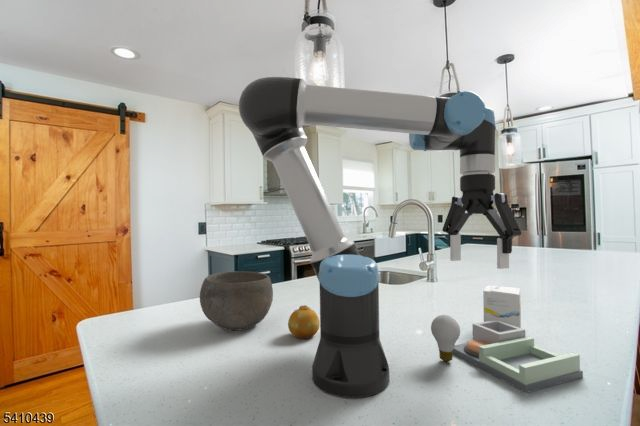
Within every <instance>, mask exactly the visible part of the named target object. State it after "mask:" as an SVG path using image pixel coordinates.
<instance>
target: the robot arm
mask: <svg viewBox="0 0 640 426" xmlns="http://www.w3.org/2000/svg"><path fill="white" fill-rule="evenodd" d="M238 111H239V116H240V119H241V120H242V123H243V124H244V126H246V127H247V129H249V131H250V132H251V133H252V135H253V138H254V139H255V142H256V144H257V147H258V149H259V150H260V153H261V156H262V158H263V159H264V160H266V161H269V162H271V163H272V165H273V166H274V169H275V171H276V173H277V175H278V178H279V180H280V182H281V184H282V187H283V188H284V191H285V192H286V195H287V198H288V199H289V202H290V204H291V206H292V208H293V211H294V213H295V215H296V218H297V221H298V222H299V224H300V226H301V229H302V231H303V233H304V236H305V238H306V240H307V242H308V245H309V247H310V249H311V252H312V255H311V256H310V257H311V258H310V260H309V261H310V262H309V263H310V264H311V266H312V269H313V271H314V273H315V275H316V278H317V281H318V283H319V329H320V332H319V333H320V338H319V342H318V345H317V348H316V353H315V355H314V358H313V361H312V365H311V371H312V372H311V374H312V375H311V377H312V378H311V379H312V382H313V384H314V385H315V387H317V388H318V389H319V390H320V391H323V392H325V393H327V394H330V395H333V396H336V397H342V398H364V397H371V396H373V395H376V394H378V393H379V394H380V392H382V391H384V390H385V389H386V388H387V387H388V385H389V384H390V365H389V363H388V360H387V357H386V354H385V352H384V348H383V346H382V342H381V338H380V337H381V336H380V302H379V301H380V298H379V297H380V293H379V283H380V273H379V268H378V264H377V262H376V260H374V259H372V258H370V257H368V256H363V255H361V254H360V251H359V250H358V247H357V245H356V243H355V241H354V240H351V239H348V238H347V237H346V236H345V234H344V232H343V229H342V227H341V225H340V224H339V221H338V219H337V217H336V214H335V212H334V209H333V208H332V205H331V203H330V201H329V199H328V198H329V197H328V196H327V194H326V192H325V190H324V188H323V185H322V183H321V181H320V179H319V176H318V174H317V171H316V169H315V167H314V165H313V163H312V160H311V159H310V157H309V154H308V152H307V150H306V145H307V142H308V136H307V135H306V132H305V131H304V128H303V126H304V125H310V126H323V127H324V126H325V127H334V128H345V129H346V128H347V129H356V130H366V131H368V130H369V131H377V132H378V131H379V132H390V133H401V134H402V133H403V134H408V142H409V146H410V148H411V149H412V150H413V151H423V152H427V151H459V159H460V160H459V174H460V175H461V176H460V178H459V190H460V192H461V193H462V195H461V196H456V195H455V196H454V195H453V196H452V197H451V201H450V202H451V203H450V208H449V210H448V213H447V216H446V218H445V220H444V225H443V227H442V228H441V229H442V232H444V233H446V234H447V235H448V246H449V247H450V249H449V250H450V253H449V254H450V257H449V259H450V260H449V261H452V262H455V261H462V260H461V258H462V257H461V256H462V255H461V254H462V253H461V252H462V251H461V249H462V247H461V246H462V245H461V244H462V243H461V241H462V238H461V237H462V235H461V234H460V231H461V230H462V228H463V227H464V225H465V224H466V223H467V221H468V219H469V218H470V216H471V217H472V215H478V214H479V215H483V216H485V217H486V218H487V220H488V221H489V223H490V224H491V226H492V227H493V229H494V230H495V231H496V232H497V234H498V235H499V237H498V238H496V268H497V269H499V270H502V269H503V270H504V269H510V254H512V252H513V239H514V238H515V237H519V236H522V235H521V234H522V230H521V228H520V227H519V224H518V222H517V220H516V218H515V215H514V214H513V212H512V209H511V207H510V205H509V201H508V194H507V193H499V192H496V193H494V191H495V190H496V176H495V174H494V173H495V172H496V130H497V129H496V118H495V111H494V110H493V109H492V108H491V107H487V106H486V105H485V102H484V100H483V99H482V97H481V96H480V95H479V94H477V93H476V92H473V91H470V90H464V91H460V92H457V93H455V94H453V95H451V96H449V97H448V96H447V97H446V96H445V97H443V96H432V95H431V96H430V95H422V94H410V93H401V92H398V93H397V92H389V91H377V90H367V89H366V90H365V89H357V88H346V87H336V86H325V85H314V84H313V85H312V84H308V83H307V81H305V79H303V78H297V77H288V76H287V77H286V76H283V77H282V76H266V77H262V78H261V77H260V78H258V79H255V80H253V81H252V82H250V83H249V84H248V85H247V86H246V87H245V88H244V89H243V91H242V92H241V94H240V97H239V99H238ZM493 204H495V206H494V205H493ZM449 247H448V248H449Z"/></svg>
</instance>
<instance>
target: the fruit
mask: <svg viewBox="0 0 640 426" xmlns="http://www.w3.org/2000/svg"><path fill="white" fill-rule="evenodd" d="M287 327H288V330H289V333H291V335H292V336H294V337H295V338H299V339H310V338H311V337H315V335H316V334H317V333H318V331H319V329H320V317H319V315H318V314H317V313H316V311H315V310H313V309H312V308H311V307H309V306H308V305H304V304H303V305H300V306H299V308H298V309H295V310H293V312H291V314H290V316H289V318H288V323H287Z"/></svg>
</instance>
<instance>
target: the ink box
mask: <svg viewBox="0 0 640 426" xmlns="http://www.w3.org/2000/svg"><path fill="white" fill-rule="evenodd" d="M482 297H483V322H487V321H493V320H498V321H501V322H504V323H507V324H510V325H513V326H516V327H519V328H522V326H521V325H522V321H521V320H522V317H521V315H522V313H521V309H522V308H521V307H522V306H521V288H520V287H511V286H503V285H502V286H501V285H486V286H485V287H484V289H483V296H482Z"/></svg>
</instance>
